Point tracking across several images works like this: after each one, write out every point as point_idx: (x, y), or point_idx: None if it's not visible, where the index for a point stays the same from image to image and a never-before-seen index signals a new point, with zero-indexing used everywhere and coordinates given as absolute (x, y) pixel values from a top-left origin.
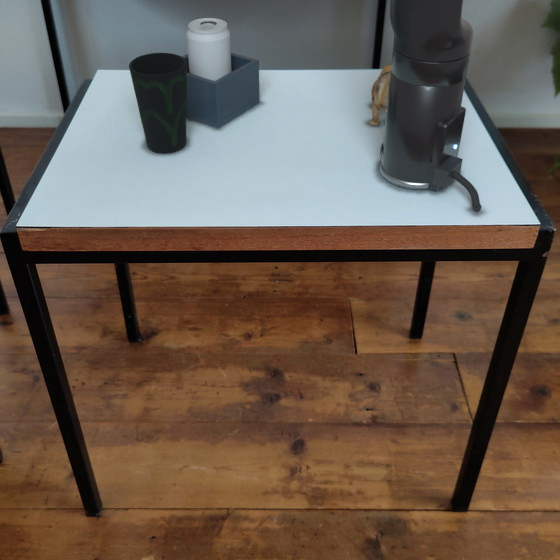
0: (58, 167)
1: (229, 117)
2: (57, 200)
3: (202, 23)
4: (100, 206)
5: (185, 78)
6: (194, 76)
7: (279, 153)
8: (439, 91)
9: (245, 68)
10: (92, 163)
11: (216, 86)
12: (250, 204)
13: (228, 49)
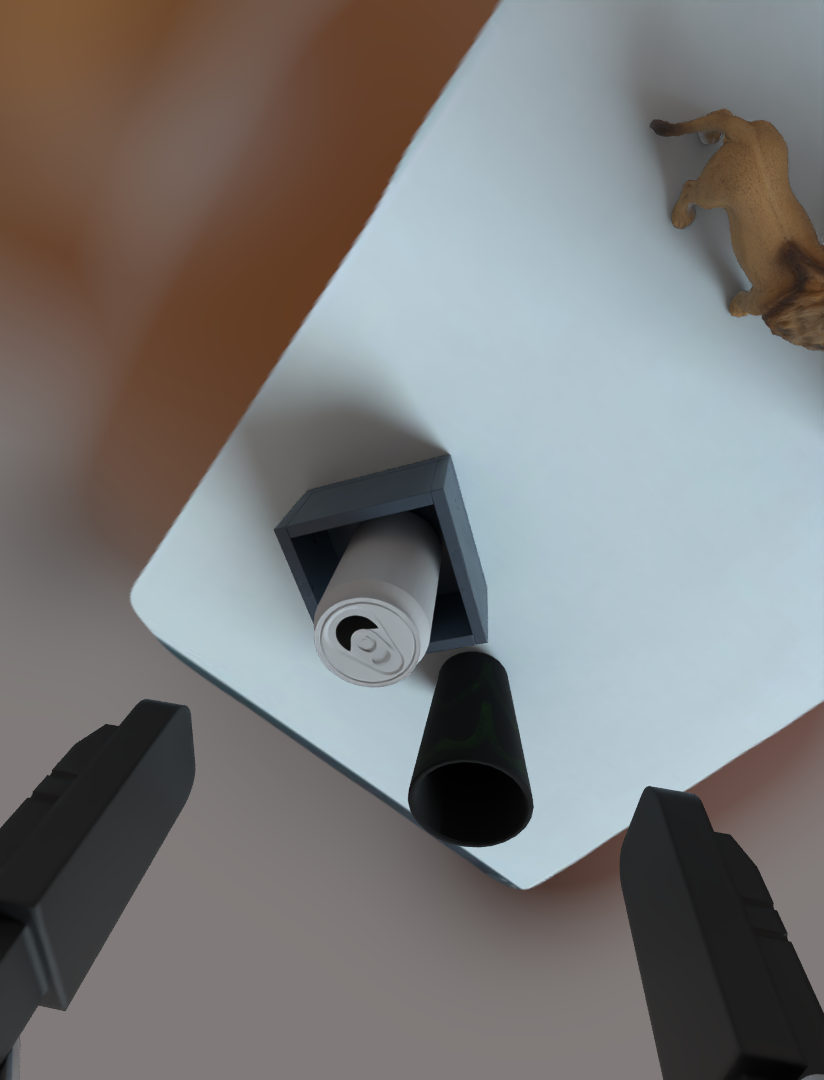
0: None
1: (478, 559)
2: (507, 844)
3: (318, 618)
4: (562, 822)
5: (517, 758)
6: None
7: (653, 565)
8: None
9: (459, 541)
10: None
11: (487, 636)
12: (735, 698)
13: (425, 590)
